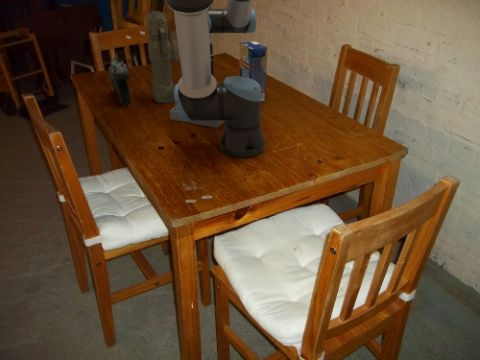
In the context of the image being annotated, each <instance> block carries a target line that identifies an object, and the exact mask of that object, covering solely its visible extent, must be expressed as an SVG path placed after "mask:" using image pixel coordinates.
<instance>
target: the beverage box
mask: <svg viewBox="0 0 480 360" xmlns="http://www.w3.org/2000/svg"><path fill="white" fill-rule="evenodd" d="M267 63H268V47H267V46H265V45H263V44H261V43H259V42H257V41H256V40H253V41H246V42H239V76H241V77H247V78H250V79H252V80H255V81H256V82H257V83H259V85H260V87H261V97H262V100H261V102H265V101H266V94H267V93H266V92H267V91H266V90H267V69H268V68H267V67H268V65H267Z"/></svg>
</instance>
